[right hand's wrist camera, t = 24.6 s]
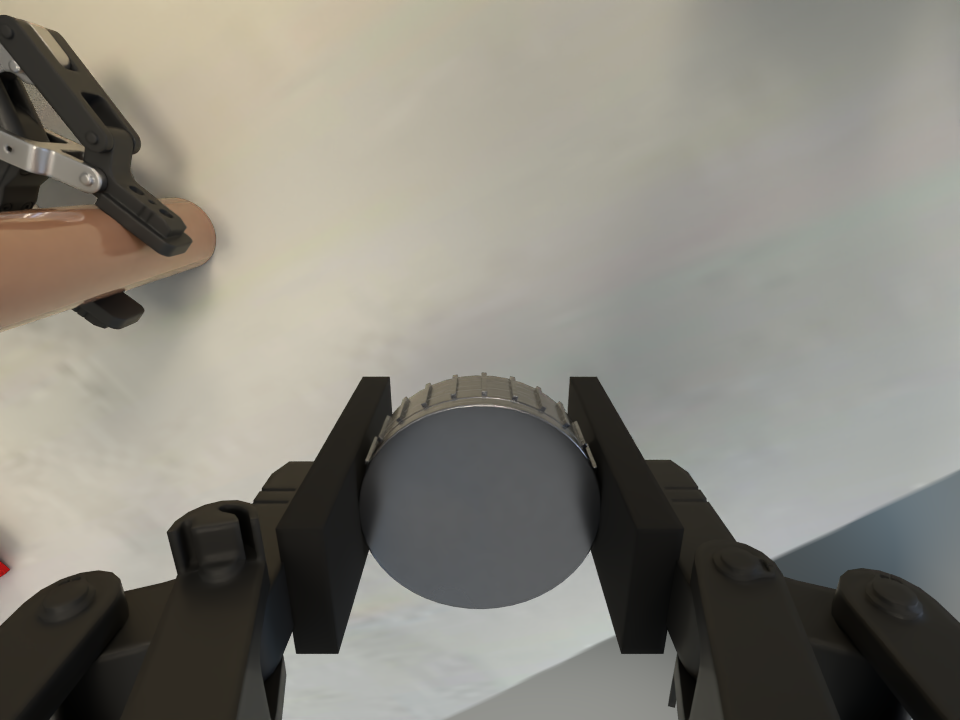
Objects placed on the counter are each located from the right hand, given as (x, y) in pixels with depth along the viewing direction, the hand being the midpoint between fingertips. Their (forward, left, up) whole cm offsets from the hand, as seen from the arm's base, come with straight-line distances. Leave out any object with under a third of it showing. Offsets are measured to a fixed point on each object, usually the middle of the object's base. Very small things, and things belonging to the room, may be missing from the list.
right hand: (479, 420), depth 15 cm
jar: (+3, -19, -19) cm, 27 cm away
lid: (0, 0, +4) cm, 4 cm away
